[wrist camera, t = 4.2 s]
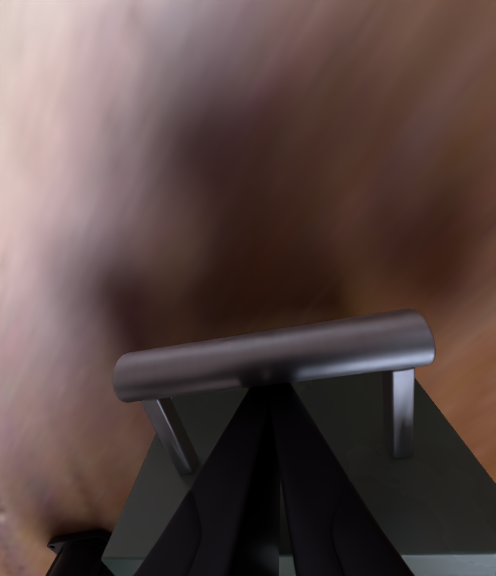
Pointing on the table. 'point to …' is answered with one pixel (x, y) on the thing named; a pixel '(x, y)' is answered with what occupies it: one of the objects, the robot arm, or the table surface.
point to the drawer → (332, 424)
